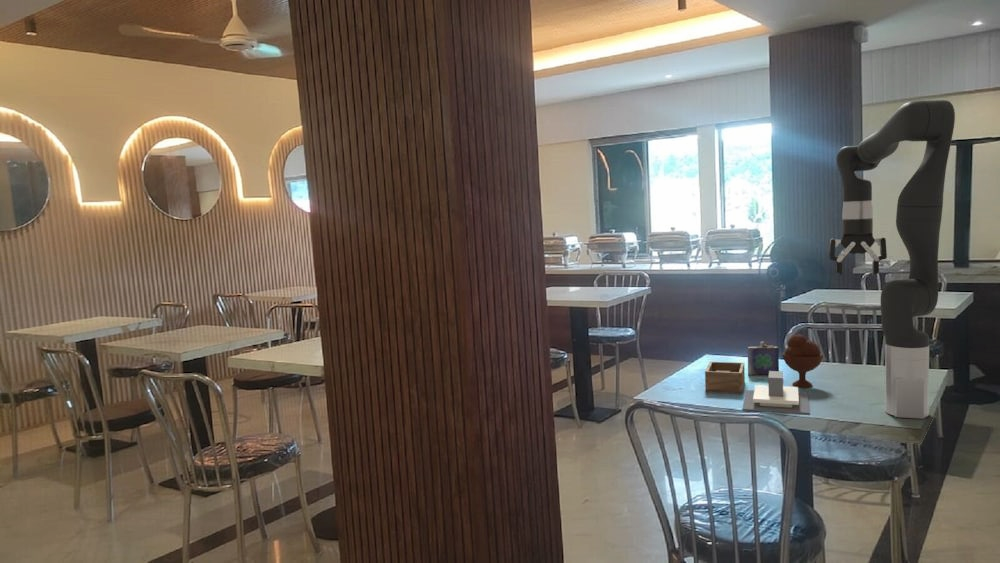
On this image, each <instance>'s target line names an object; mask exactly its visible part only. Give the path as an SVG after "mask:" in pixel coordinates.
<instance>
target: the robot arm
mask: <svg viewBox="0 0 1000 563" xmlns="http://www.w3.org/2000/svg"><path fill="white" fill-rule="evenodd" d="M955 118H956V113H955V108H954V105H953V103H951V101H950V100H947V99H945V100H944V99H940V100H939V99H938V100H937V99H936V100H933V99H932V100H912V101H909V102H906V103H903V105H901V106H900V107H898V109H897V110H895V112H894V113H893V114H892V115H891V116H890V117H889V118H888V119H887V121H885V122H884V123H883V125H881V127H880V128H879V129H878V130H876V131H875V132H873V133H872V134H870V135H869V136H868V137H865V138H864V139H863V140H862V141H861V142H859V144H858V145H846V146H843V147H840V149H839V150H838V152H837V154H836V158H835V159H836V160H835V161H836V166H837V170H838V172H839V175H840V180H841V182H842V188H843V196H842V198H843V205H842V214H841V218H842V219H841V220H842V230H841V231H842V235H841V239H835V238H831V239H830V240H829V250H828V251H829V252H828V258H829V260H831V261H834V262H835V272H836V273H837V274H838V275H839V276H842V275H843V260H844V258H845V257H846V256H847V255H848V254H851V255H856V254H861V255H863V254H864V255H865V253H866V254H868V255H869V256H870V258H871V259H872V262H871V263H872V268H871V269H872V271H871V272H872V273H871V274H872V276H876V275H877V274H878V273H879V272H880V261H883V260H886V259H887V257H888V254H887V241H886V240H887V239H886V237H879V238H874V234H873V228H874V227H873V226H874V225H873V224H874V223H873V222H874V221H873V220H874V219H873V216H874V214H873V212H874V210H873V209H874V208H873V201H872V200H873V190H872V189H873V188H872V187H873V186H872V181H870V180H868V179H863V178H859V177H858V176H857V175H856V173H855V172H866V171H872V170H874V169H876V168H877V167H878V166H879V165H880V162H881V161H882V160H884V159H886V158H888V157H889V156H891V155H892V154H894V153H895V152H896V150H897V149H898V148H899V144H900V142H904V141H905V142H907V141H908V142H926V144H925V150H924V155H923V158H922V161H921V163H920V165H919V166H918V168H917V170H916V171H915V172H914V174H913V175H912V176H911V178H909V180H908V182H907V183H906V184H905V186H904V187H903V189H902V190H901V191H900V194H899V196H898V199H897V204H896V205H897V206H896V215H895V226H896V229H897V232H898V235H899V236H900V239H901V240H902V243H903V244H904V246H905V249H906V251H907V253H908V256H909V276H908V279H907V278H906V279H894V280H890V281H888V282H887V283H886V284H885V285H884V286H883V287H882V290H881V293H880V314H881V315H880V316H881V318H880V319H881V329H882V333H883V336H884V340H885V342H884V343H885V344H884V345H885V354H884V355H885V356H884V359H885V360H884V361H885V369H884V372H885V374H884V376H885V379H884V384H885V385H884V389H885V390H884V394H885V395H884V397H885V398H884V400H885V402H884V404H885V405H884V406H885V407H884V408H885V410H884V411H885V413H886V414H889V415H891V416H894V417H895V418H904V419H905V418H906V419H907V418H908V419H921V420H923V419H925V418H926V417H928V416H929V415H930V413H929V411H930V397H929V396H930V336H929V334H928V333H927V332H925V331H921V330H919V329H917V328H915V325H914V318H915V317H923V316H927V315H929V314H931V313H932V312H934V310H935V309H936V307H937V304H938V300H939V264H938V263H939V260H938V259H939V245H940V231H941V225H942V217H943V207H944V206H943V205H944V192H945V191H944V189H945V182H946V171H947V165H948V160H949V153H950V149H951V144H952V139H953V135H954V131H955V130H954V128H955V122H956V119H955ZM874 243H875V244H876V245H877V246H879V254H880V255H877V254H876V252H875V251H873V249H872V248H871V247H872V246H873V245H874ZM839 244H841V246H843V249H842V250H841V251H840V253H839V254H838V256H835V252H836V248H837V247H838V246H839Z"/></svg>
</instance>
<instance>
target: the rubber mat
mask: <svg viewBox="0 0 1000 563" xmlns="http://www.w3.org/2000/svg"><path fill="white" fill-rule="evenodd" d="M754 390H755V389H754ZM754 390H753V389H746V390H745V395H744V398H743V399H744V400H743V405H742V407H741V408H742V411H748V412H762V413H763V412H765V413H780V414H783V413H784V414H797V415H798V414H800V415H810V414H811V412H810V411H811V410H810V404H809V403H810V402H809V398H808V397H809V396H808V392H798V396H799V405H792V407H775V406H760V403H754V402H753V396H754Z"/></svg>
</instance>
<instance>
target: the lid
mask: <svg viewBox="0 0 1000 563" xmlns="http://www.w3.org/2000/svg"><path fill="white" fill-rule="evenodd" d="M798 393H799V387H794V386H785V385H784V371H781V370H779V371H769V376H768V385H762V384H761V385H760V384H755V385H754V396H753V402H754V403H760V406H775V407H792V405H799V396H798Z"/></svg>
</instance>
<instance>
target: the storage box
mask: <svg viewBox="0 0 1000 563" xmlns="http://www.w3.org/2000/svg"><path fill="white" fill-rule="evenodd" d="M704 378H705V379H704V384H705V387H704V388H705V390H704V391H705V393H717V394H718V393H720V394H737V395H738V394H740V395H742V394H743V392H744V387H745V382H746V378H745V362H737V361H736V362H731V361H730V362H729V361H709V363H708V365H707V367H706V369H705V371H704Z"/></svg>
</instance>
